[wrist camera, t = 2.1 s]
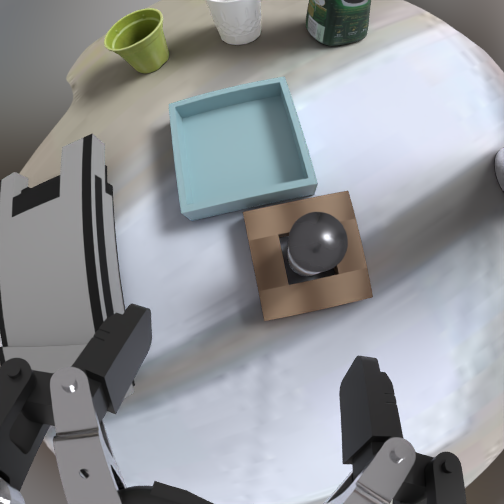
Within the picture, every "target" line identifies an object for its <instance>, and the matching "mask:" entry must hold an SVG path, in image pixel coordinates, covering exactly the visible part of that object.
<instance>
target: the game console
mask: <svg viewBox="0 0 504 504" xmlns="http://www.w3.org/2000/svg"><path fill="white" fill-rule="evenodd" d="M116 312H117V313H120V314H123V313H124V312H125V306H124V300H123V293H122V287H121V279H120V272H119V263H118V254H117V245H116V234H115V221H114V206H113V186H112V185H110V184H109V183H107V166H106V165H105V143H103V142H102V141H101V140H100V139H98V138H97V137H96V136H95V135H93V134H91V135H88V136H86V137H84V138H81V139H79V140H77V141H75V142H72V143H70V144H68V145H66V146H64V147H62V157H61V174H60V175H59V176H57V177H54V178H52V179H50V180H48V181H46V182H43V183H41V184H39V185H37V186H35V187H33V188H29V187H28V178H27V177H25V176H22V175H20V174H18V173H16V172H14V173H12V174H11V175H9V176H7V177H5V178H4V179H2V180H0V333H1V339H2V345H3V347H0V364H1V366H2V365H3V363H4V362H6V361H7V360H9V359H12V358H22V359H24V360H26V361H27V362H28V363H29V365H30V367H31V369H32V370H36V371H42V372H48V373H55V372H56V371H57V370H59V369H61V368H63V367H71V366H72V365H73V363H74V362H75V361H76V359H77V358H78V356H79V355H80V354H81V352H82V351H83V349H84V348H85V347H86V345H87V344H88V342H89V341H90V340H91V338H93V336H94V334H95V333H96V331H97V330H99V327H100V326H101V325H102V323H103V322H104V321H105V319H107V318H108V317H110V316H112V315H113V314H115V313H116ZM133 386H135V384H134V380H133V381H132V383H131V385H130V387H129V389H128V391H127V393H126V395H125V397H124V399H125V398H126V397H128V396H129V395H131V394H132V393H134V389H133Z"/></svg>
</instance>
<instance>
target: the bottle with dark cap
mask: <svg viewBox="0 0 504 504" xmlns="http://www.w3.org/2000/svg"><path fill="white" fill-rule="evenodd" d="M347 247H348V238H347V234H346V231H345V229H344V227H343V225H342V224H341V223H340V221H339V220H338V219H336V218H335V217H334V216H332V215H330V214H327V213H324V212H311V213H307V214H305V215H303V216H301V217H300V218H299V219H298V220H297V221H296V222H295V223H294V224H293V226H292V228H291V230H290V233H289V238H288V255H287V258H288V263H289V265H290V267H291V269H292V270H293V271H294V272H296V273H297V274H299V275H302V276H312V275H315V274H318V273H320V272H324V271H327V270H330V269H332V268H334V267H335V266H337V265H338V264H339V263H340V262H341V261H342V259H343V258H344V256H345V254H346V251H347Z"/></svg>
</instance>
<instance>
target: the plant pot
mask: <svg viewBox="0 0 504 504" xmlns="http://www.w3.org/2000/svg"><path fill="white" fill-rule="evenodd" d="M162 22H163V15H162V13H161V12H160V11H159V10H157V9H152V8H148V9H142V10H138V11H135V12H133V13H130V14H128V15H126V16H125V17H123V18H122V19H121V20H119V21H118V22H117V23H115V25H113V26H112V27H111V28H110V30H109V31H108V33H107V34H106V36H105V40H104V45H105V47H106V48H107V49H108V50H110V51H113V52H115V53H117V54H119V55H120V56H121V57H122V58H123V59H125V60H126V61H127V62H128V63H129V64H130V65H131V66H132V67H133V68H134V69H135V70H136V71H138V72H140V73H150V72H153V71H156V70H158V69H159V68H160V67H161V66H162V65H163V64H164V63H165V62H166V61H167V60H168V58H169V51H168V47H167V44H166V41H165V37H164V33H163V29H162V27H163V24H162Z"/></svg>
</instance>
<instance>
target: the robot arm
mask: <svg viewBox="0 0 504 504" xmlns="http://www.w3.org/2000/svg"><path fill="white" fill-rule="evenodd" d="M495 172H496V176H497V179H498V182H499V184H500V186H501V188H502V190H503V191H504V148H502V149H501V150H500V151H499V152H498V153H497V155H496V157H495ZM151 341H152V329H151V311H150V309H148V308H145V307H142V306H138V305H135V304H130V305H129V306H128V308H127V309H126V311H125V312H124V313H123V314H120V313H117V312H116V313H115V314H113V315H112V316H110V317H108V318H107V319H105V321H104V322H103V323H102V325H101V326H100V327H99V330H97V331H96V333H95V334H94V336H93V338H91V340H90V341H89V342H88V344H87V345H86V347H85V348H84V349H83V351H82V352H81V354H80V355H79V356H78V358H77V359H76V361H75V362H74V363H73V365H72V366H71V367H63V368H61V369H59V370H57V371H56V372H55V373H48V372H42V371H36V370H32V369H31V367H30V365H29V363H28V362H27V361H26V360H24V359H22V358H12V359H9V360H7V361H6V362H4V363H3V365H2V366H1V367H0V504H25V502H24V499H23V497H22V495H21V493H20V489H21V486H22V485H23V482H24V480H25V477H26V475H27V473H28V471H29V468H30V466H31V464H32V462H33V459H34V457H35V455H36V453H37V451H38V449H39V447H40V445H41V443H42V441H43V439H44V437H45V435H46V432H47V430H48V428H49V427H50V425H52V426H55V428H56V436H54V438H53V444H54V450H55V455H56V459H57V464H58V469H59V473H60V477H61V481H62V485H63V489H64V492H65V496H66V499H67V502H68V504H213V503H211V502H209V501H207V500H205V499H203V498H201V497H198V496H196V495H194V494H192V493H190V492H188V491H187V490H183V489H179V488H176V487H172V486H169V485H166V484H163V483H160V482H156V481H155V482H154V484H153V486H134V487H128V488H126V485H125V482H124V480H123V477H122V475H121V472H120V470H119V468H118V465H117V463H116V460H115V457H114V454H113V451H112V448H111V445H110V442H109V438H108V435H107V432H106V428H105V424H104V421H103V418H104V416H105V414H106V412H107V411H109V412H111V413H114V414H116V413H117V411H118V409H119V407H120V405H121V403H122V401H123V399H124V397H125V395H126V393H127V391H128V389H129V387H130V385H131V383H132V381H133V380H134V378H135V376H136V374H137V372H138V370H139V368H140V366H141V364H142V362H143V360H144V359H145V357H146V355H147V353H148V351H149V349H150V345H151ZM339 395H340V410H341V429H342V455H343V464H353V471H351V472H350V474H349V475H348V476H347V477H346V478H345V480H344V481H343V482H342V483H341V484H340V485H339V487H338V488H337V489H336V490H335V491H334V492H333V494H332V495H331V496H330V497H329V498H328V499H327V500H326V501H325V502H324V503H323V504H390V502H391V501H392V499H393V504H466V495H465V487H464V480H463V473H462V467H461V463H460V461H459V459H458V458H457V456H455V455H454V454H453V453H450V452H442V453H440V454H438V455H437V456H436V457H435V458H433V457H430V456H426V455H423V454H419V453H416V452H415V450H414V448H413V446H412V445H411V443H410V442H408V441H407V440H405V439H404V438H403V435H402V429H401V424H400V418H399V413H398V408H397V405H396V398H395V396H394V389H393V385H392V382H391V380H390V379H389V377H388V376H387V374H386V373H385V372H380V369H379V364H378V360H377V359H376V358H372V357H364V356H357V357H356V358H355V360H354V362H353V363H352V365H351V367H350V368H349V370H348V372H347V373H346V375H345V377H344V378H343V380H342V382H341V386H340V393H339Z"/></svg>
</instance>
